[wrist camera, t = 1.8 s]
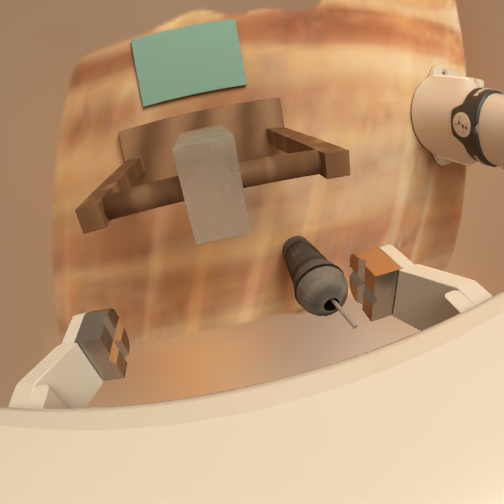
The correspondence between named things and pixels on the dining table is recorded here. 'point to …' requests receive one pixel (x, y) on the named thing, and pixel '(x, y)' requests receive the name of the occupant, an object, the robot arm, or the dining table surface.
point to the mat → (188, 61)
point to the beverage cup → (315, 279)
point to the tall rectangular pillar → (211, 183)
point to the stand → (248, 151)
